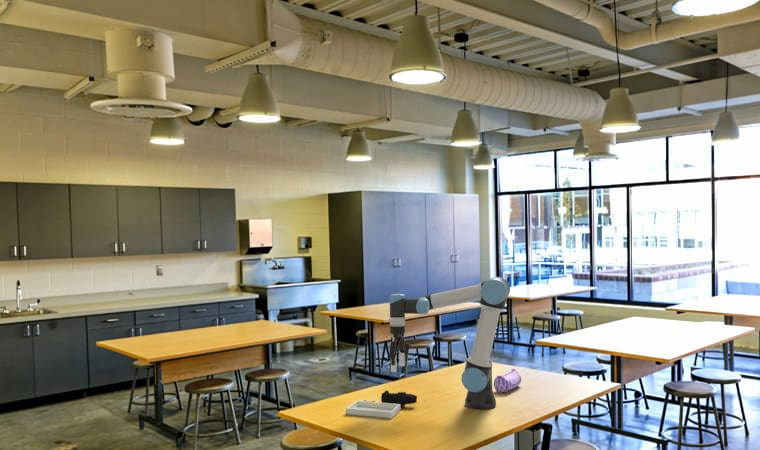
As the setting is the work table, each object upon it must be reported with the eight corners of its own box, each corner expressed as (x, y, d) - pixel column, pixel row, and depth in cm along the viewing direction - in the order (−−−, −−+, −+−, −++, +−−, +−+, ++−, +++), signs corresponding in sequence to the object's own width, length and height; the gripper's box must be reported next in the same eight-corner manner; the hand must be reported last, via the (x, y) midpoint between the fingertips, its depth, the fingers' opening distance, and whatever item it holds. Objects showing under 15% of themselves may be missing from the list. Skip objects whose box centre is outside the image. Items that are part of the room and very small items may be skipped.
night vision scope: (416, 412, 293) (413, 403, 285) (381, 410, 296) (377, 402, 289) (418, 396, 298) (415, 387, 290) (383, 396, 302) (379, 386, 294)
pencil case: (506, 384, 338) (506, 367, 338) (522, 386, 333) (522, 369, 333) (492, 392, 319) (492, 375, 319) (509, 395, 314) (509, 377, 314)
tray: (400, 410, 287) (400, 404, 287) (391, 419, 273) (391, 412, 273) (357, 406, 294) (357, 400, 294) (345, 414, 281) (345, 408, 281)
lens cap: (376, 404, 300) (376, 400, 300) (372, 407, 294) (372, 403, 294) (365, 403, 302) (365, 399, 302) (361, 406, 296) (361, 402, 296)
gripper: (397, 321, 308) (398, 363, 308) (382, 328, 285) (382, 373, 284) (411, 322, 306) (412, 364, 305) (397, 329, 282) (397, 374, 282)
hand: (397, 368), depth 295 cm, fingers open, 13 cm apart
